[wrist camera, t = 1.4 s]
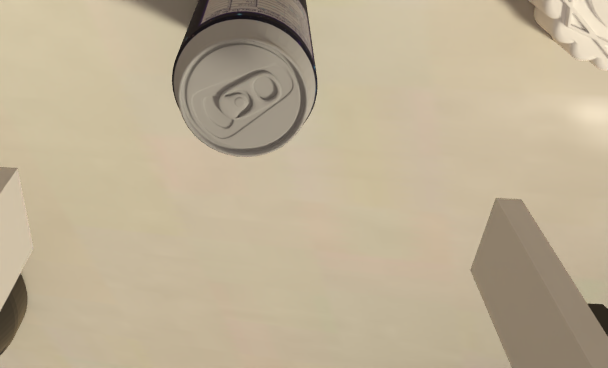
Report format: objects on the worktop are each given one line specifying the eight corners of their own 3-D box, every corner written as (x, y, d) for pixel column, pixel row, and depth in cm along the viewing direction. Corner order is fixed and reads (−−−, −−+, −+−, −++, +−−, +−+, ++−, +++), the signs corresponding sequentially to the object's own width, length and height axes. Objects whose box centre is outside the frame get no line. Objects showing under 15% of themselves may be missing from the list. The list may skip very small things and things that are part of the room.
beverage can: (181, -14, 31) (135, 74, 21) (272, -70, 29) (270, -3, 19) (238, 72, 34) (221, 187, 24) (323, 26, 32) (345, 126, 22)
